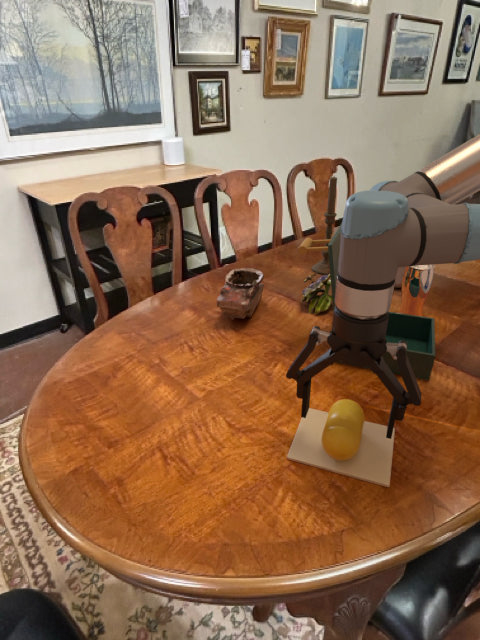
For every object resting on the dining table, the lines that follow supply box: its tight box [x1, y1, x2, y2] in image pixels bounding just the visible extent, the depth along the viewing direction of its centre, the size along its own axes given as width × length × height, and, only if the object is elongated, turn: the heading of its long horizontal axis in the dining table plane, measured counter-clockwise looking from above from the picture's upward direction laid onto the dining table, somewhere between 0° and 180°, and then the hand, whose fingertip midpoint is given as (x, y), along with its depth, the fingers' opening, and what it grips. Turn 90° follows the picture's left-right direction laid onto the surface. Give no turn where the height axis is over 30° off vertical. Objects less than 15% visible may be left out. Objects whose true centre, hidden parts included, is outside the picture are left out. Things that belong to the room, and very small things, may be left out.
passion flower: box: [300, 272, 332, 315], centre depth 113 cm, size 11×11×12 cm
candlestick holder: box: [311, 175, 338, 276], centre depth 131 cm, size 9×9×30 cm
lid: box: [297, 222, 342, 313], centre depth 92 cm, size 20×16×8 cm
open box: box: [336, 310, 436, 381], centre depth 93 cm, size 19×16×7 cm
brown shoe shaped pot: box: [216, 267, 265, 320], centre depth 111 cm, size 13×20×10 cm, turn 158°
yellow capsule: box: [321, 398, 365, 461], centre depth 69 cm, size 12×6×6 cm, turn 159°
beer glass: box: [397, 264, 436, 317], centre depth 105 cm, size 7×7×15 cm
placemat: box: [286, 407, 396, 488], centre depth 71 cm, size 16×13×1 cm
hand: (345, 422), depth 69 cm, fingers open, 13 cm apart
